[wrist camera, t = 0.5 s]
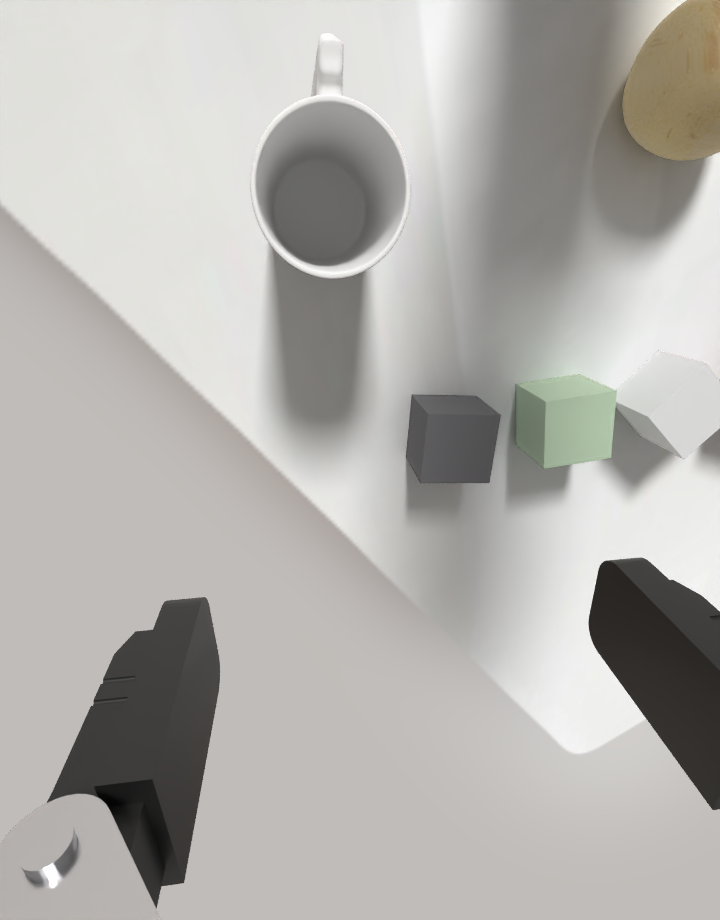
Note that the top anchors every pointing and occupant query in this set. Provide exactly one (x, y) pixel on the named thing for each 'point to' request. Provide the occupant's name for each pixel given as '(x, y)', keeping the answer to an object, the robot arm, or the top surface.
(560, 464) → the sage block
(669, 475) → the top surface
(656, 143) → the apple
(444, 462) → the charcoal block
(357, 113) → the mug
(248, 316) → the top surface
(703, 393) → the grey block
